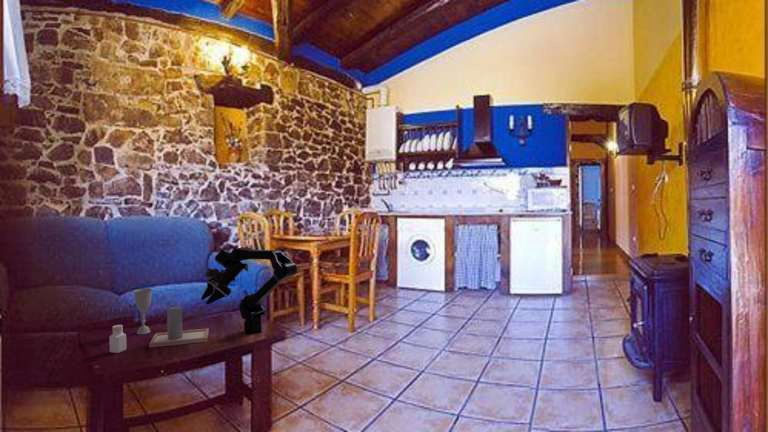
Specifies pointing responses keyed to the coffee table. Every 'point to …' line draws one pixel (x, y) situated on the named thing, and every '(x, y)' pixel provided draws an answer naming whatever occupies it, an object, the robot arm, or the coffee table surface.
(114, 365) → the coffee table surface
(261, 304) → the robot arm
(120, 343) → the pepper shaker
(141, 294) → the chalice
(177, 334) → the grey upright block
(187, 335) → the serving tray
